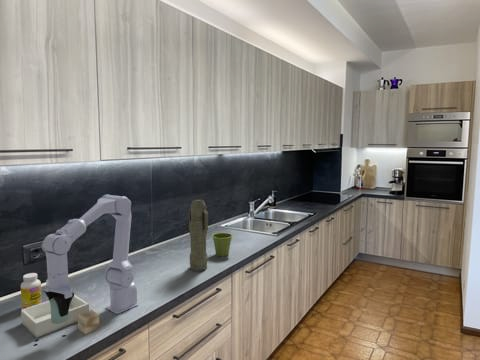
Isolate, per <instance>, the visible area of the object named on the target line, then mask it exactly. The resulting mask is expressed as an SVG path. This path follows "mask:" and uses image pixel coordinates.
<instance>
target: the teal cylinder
mask: <svg viewBox="0 0 480 360" xmlns="http://www.w3.org/2000/svg"><path fill="white" fill-rule="evenodd" d="M50 308H51V322H52V323H53V324H60V323H63V322H66V321H67V320H68V319H69V311H68V315H65V316H63V317H61V316H60V314H59V310H58V306H57V303H56V301H55V300H54V299H53V298H52V299H51V300H50Z"/></svg>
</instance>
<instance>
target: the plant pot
mask: <svg viewBox="0 0 480 360" xmlns="http://www.w3.org/2000/svg"><path fill="white" fill-rule="evenodd" d="M211 237H212V240H213V244H214V251H215V255H216V256H217V257H220V256H221V257H227V256H229V253H230V249H231V248H230V246H231V241H232V237H233V234H232V233H228V232H215V233H213V234H211Z"/></svg>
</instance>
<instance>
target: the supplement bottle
mask: <svg viewBox="0 0 480 360" xmlns="http://www.w3.org/2000/svg"><path fill="white" fill-rule="evenodd" d="M22 279H23V282H21V284H20V295H21V296H20V299H21V300H20V302H21V310H22V309H25V308H28V307H31V306H34V305H37V304H40V303H43V299H42V282H41V280H40V279H38V273H36V272H29V273H26V274H24V275H23V277H22Z"/></svg>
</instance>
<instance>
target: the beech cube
mask: <svg viewBox="0 0 480 360" xmlns="http://www.w3.org/2000/svg"><path fill="white" fill-rule="evenodd" d="M77 329H78V330H79V331H80V332H81V333H83V334H85V335H86V334H87V335H88V334H89V333H91V332H93V330H94V331H96V330H98V329H100V313H98V312H96V311H94V310H93V309H89V311H87V312H85V313H82V314H79V315H78V322H77Z"/></svg>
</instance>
